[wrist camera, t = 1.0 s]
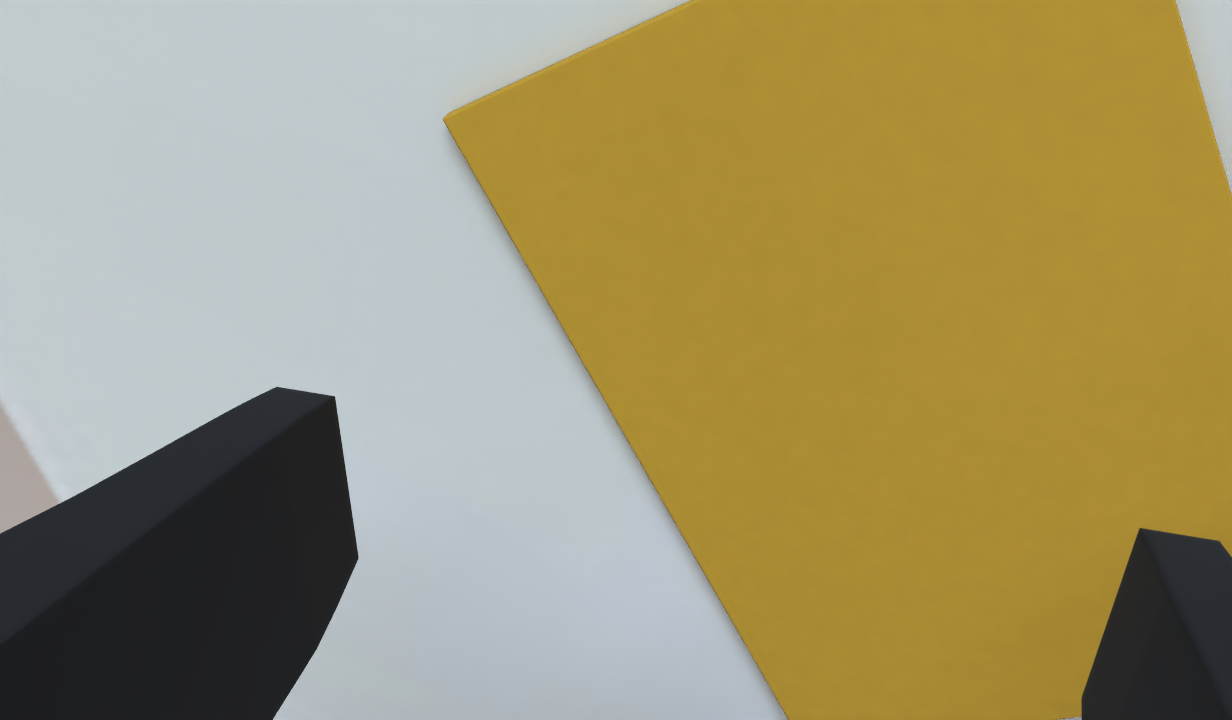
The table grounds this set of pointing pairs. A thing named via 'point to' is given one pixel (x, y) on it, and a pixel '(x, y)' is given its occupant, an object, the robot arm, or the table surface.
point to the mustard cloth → (893, 320)
